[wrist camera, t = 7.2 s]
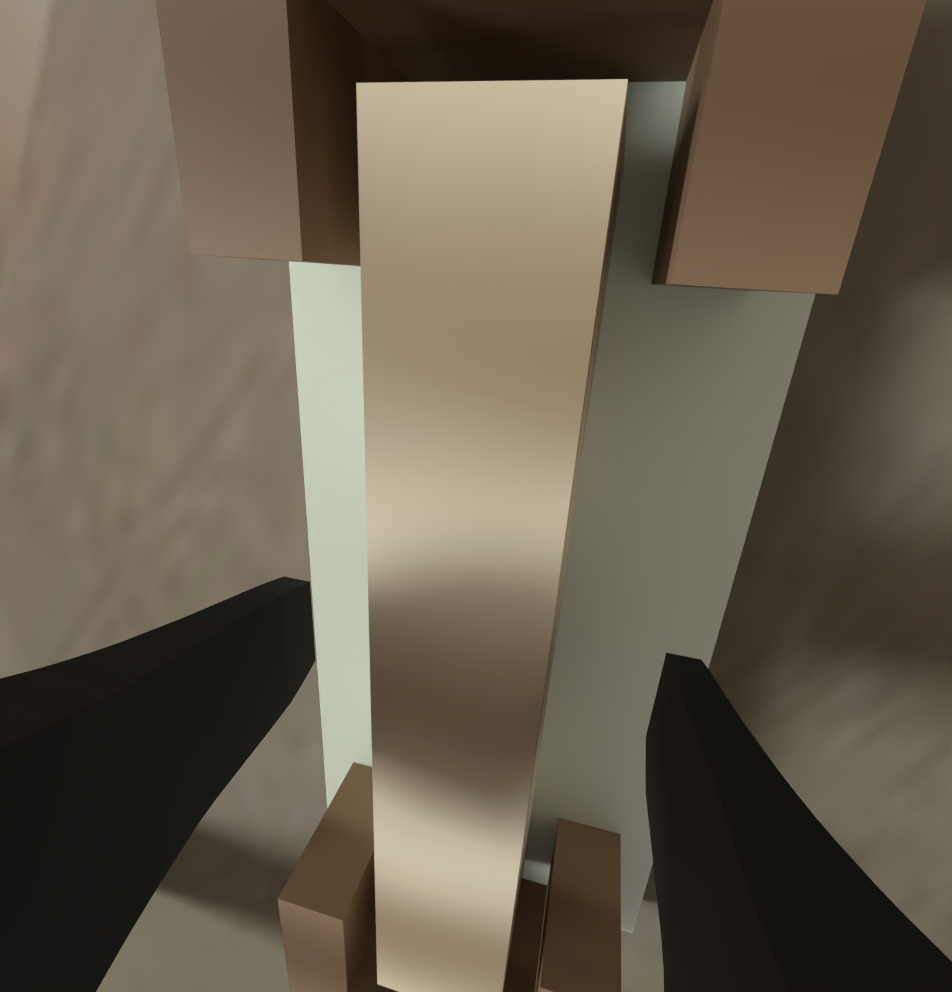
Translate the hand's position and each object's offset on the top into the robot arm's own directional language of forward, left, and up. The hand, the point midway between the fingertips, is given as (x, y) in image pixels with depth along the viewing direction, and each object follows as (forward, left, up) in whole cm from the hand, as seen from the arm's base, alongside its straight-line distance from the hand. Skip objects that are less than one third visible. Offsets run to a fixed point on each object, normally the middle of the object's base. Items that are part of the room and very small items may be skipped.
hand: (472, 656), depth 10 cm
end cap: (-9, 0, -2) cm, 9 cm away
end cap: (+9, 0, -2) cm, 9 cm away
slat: (0, 0, -2) cm, 2 cm away
